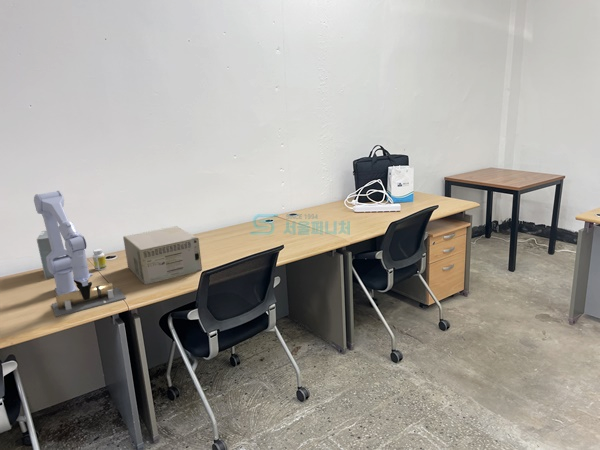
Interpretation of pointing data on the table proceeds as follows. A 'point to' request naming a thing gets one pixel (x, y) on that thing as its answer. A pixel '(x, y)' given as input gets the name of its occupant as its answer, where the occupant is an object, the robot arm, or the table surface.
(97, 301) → the gray cradle stand
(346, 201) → the table surface
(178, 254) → the beige vented electronics case
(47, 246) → the hard drive box
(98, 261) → the supplement bottle
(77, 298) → the brass tube
